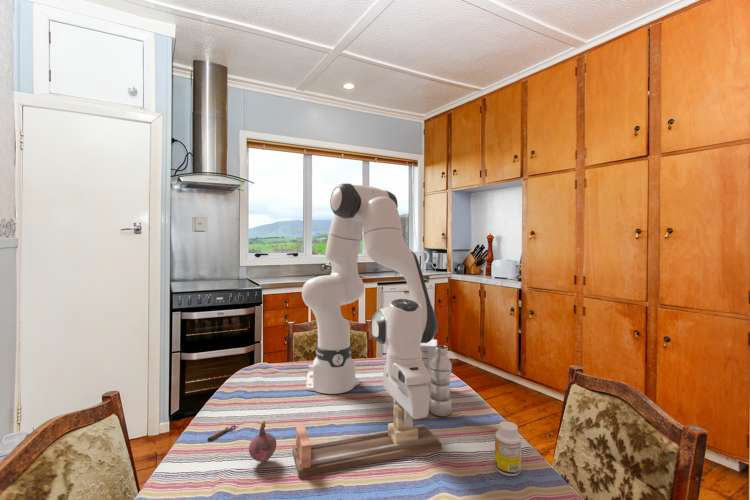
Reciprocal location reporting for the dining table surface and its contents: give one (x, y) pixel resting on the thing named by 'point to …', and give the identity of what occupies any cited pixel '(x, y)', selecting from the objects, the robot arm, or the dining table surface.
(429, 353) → the supplement box
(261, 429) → the vegetable
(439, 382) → the plastic bottle
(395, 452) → the rail board
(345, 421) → the dining table surface
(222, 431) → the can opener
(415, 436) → the block
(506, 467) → the supplement bottle
